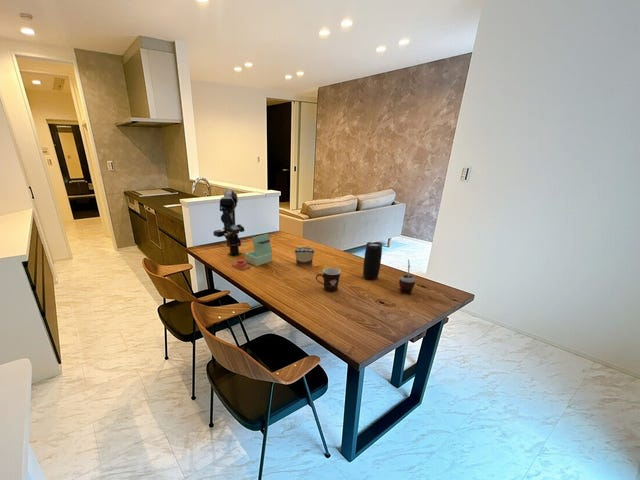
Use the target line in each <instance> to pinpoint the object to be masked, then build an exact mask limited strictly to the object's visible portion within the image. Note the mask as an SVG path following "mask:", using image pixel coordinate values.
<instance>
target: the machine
mask: <svg viewBox="0 0 640 480" xmlns="http://www.w3.org/2000/svg"><path fill="white" fill-rule="evenodd" d="M244 259H245V261H246V263H249V264H251V265H253V266H256V267H258V266H261V265H264V264H267V263H270V262H273V252H272V253H270V254H266V255H263V256H260V257H256V255H255V250H252V251H250V252H246V253H245V255H244Z"/></svg>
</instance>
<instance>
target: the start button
mask: <svg viewBox="0 0 640 480" xmlns="http://www.w3.org/2000/svg"><path fill="white" fill-rule="evenodd" d="M237 261H238V263H239V264H241V263H244V261H245V260H244V259H242V258H239V259H237Z"/></svg>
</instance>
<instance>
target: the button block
mask: <svg viewBox="0 0 640 480" xmlns="http://www.w3.org/2000/svg"><path fill="white" fill-rule="evenodd" d="M232 267H234V268H236V269H238V270H240V271H244V270H248V269H251V268H250V267H251V266H250V265H248V264H247V262H246V260H244V263H241V264H239V263H238V260H237V261H235V262H234V263H232Z"/></svg>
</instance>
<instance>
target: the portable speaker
mask: <svg viewBox="0 0 640 480" xmlns="http://www.w3.org/2000/svg"><path fill="white" fill-rule="evenodd" d="M382 255H383V243H382V242H378V241H377V242H376V241H375V242H371V241H368V242H366V247H365V251H364V258H363V267H362V268H363V269H362V278H363V279H364V280H367V279H371V280H373V281H376V280H378V279H379V278H378V277H379V273H380V269H381V263H382Z"/></svg>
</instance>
